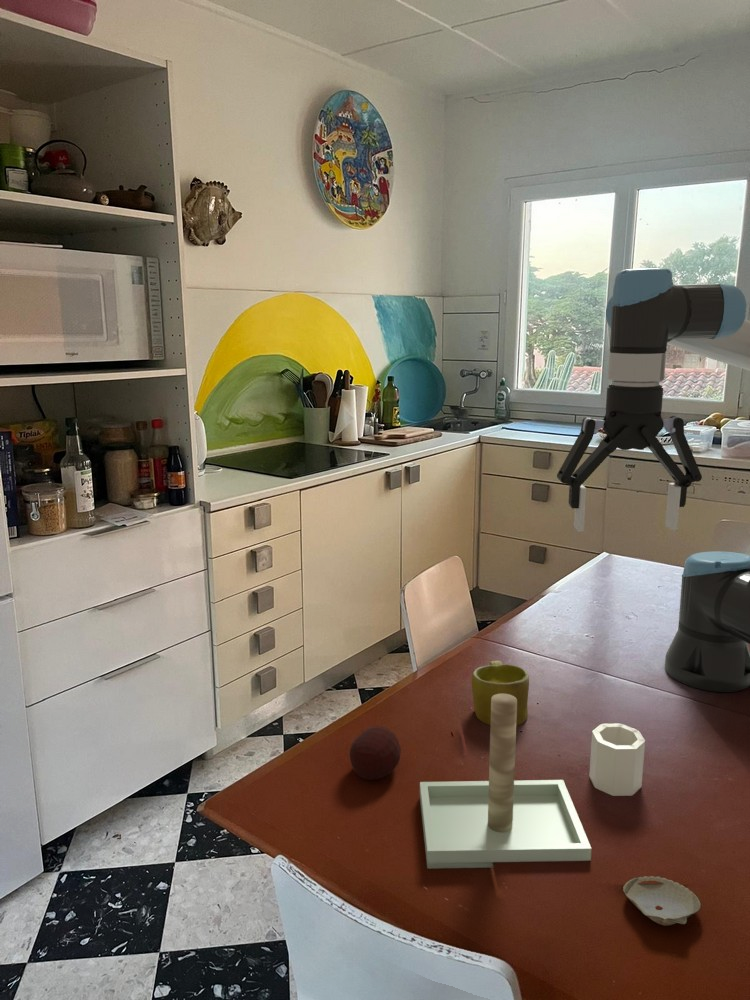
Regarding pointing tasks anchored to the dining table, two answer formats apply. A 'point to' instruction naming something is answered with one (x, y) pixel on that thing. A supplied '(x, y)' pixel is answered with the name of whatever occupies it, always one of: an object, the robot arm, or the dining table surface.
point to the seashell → (662, 900)
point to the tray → (473, 844)
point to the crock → (617, 759)
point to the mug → (499, 689)
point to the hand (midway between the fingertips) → (624, 529)
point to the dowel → (502, 762)
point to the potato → (375, 753)
